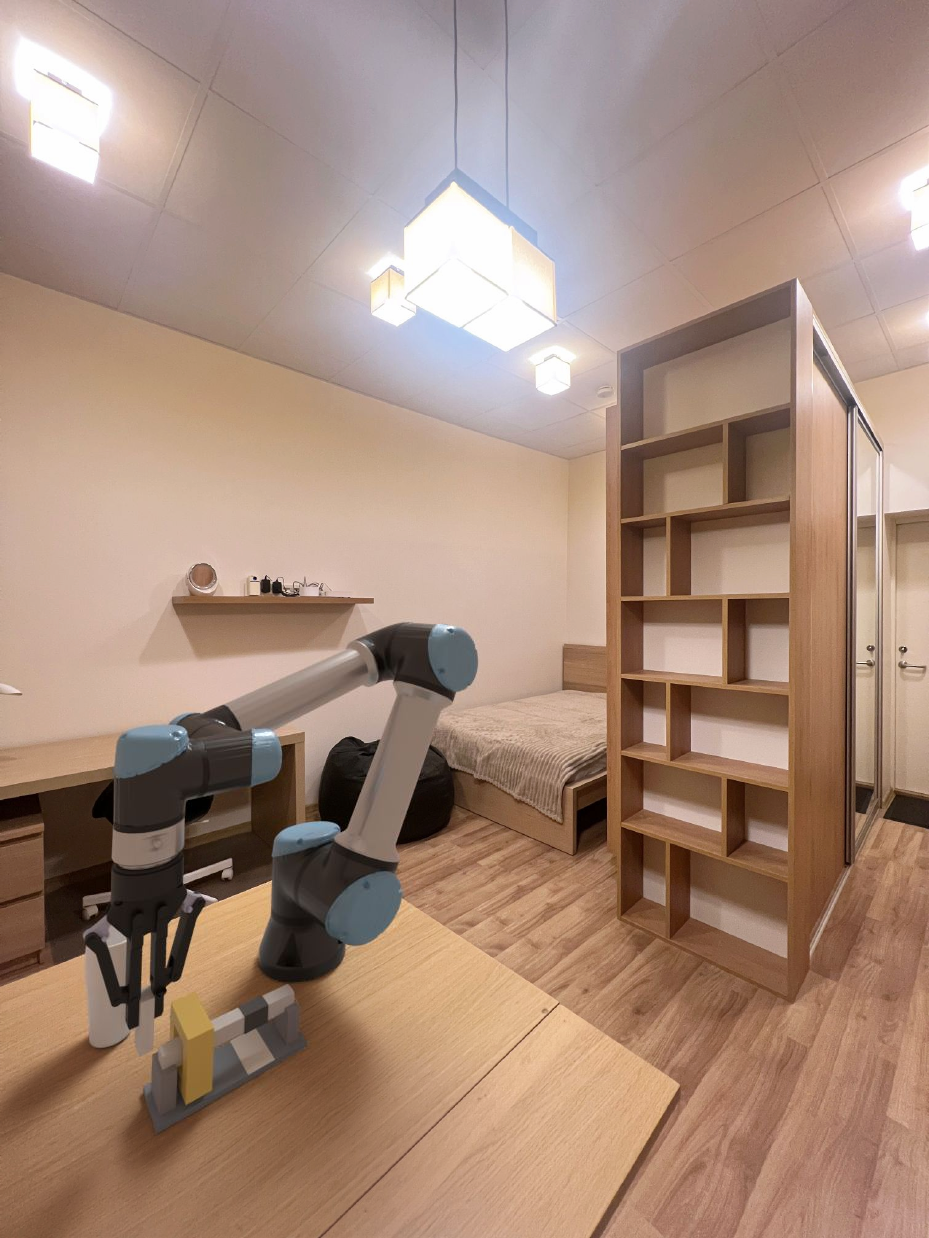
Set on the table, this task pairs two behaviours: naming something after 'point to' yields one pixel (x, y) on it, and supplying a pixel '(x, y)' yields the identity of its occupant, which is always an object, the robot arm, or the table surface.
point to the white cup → (106, 995)
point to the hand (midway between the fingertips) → (143, 1045)
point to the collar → (193, 1046)
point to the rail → (228, 1054)
